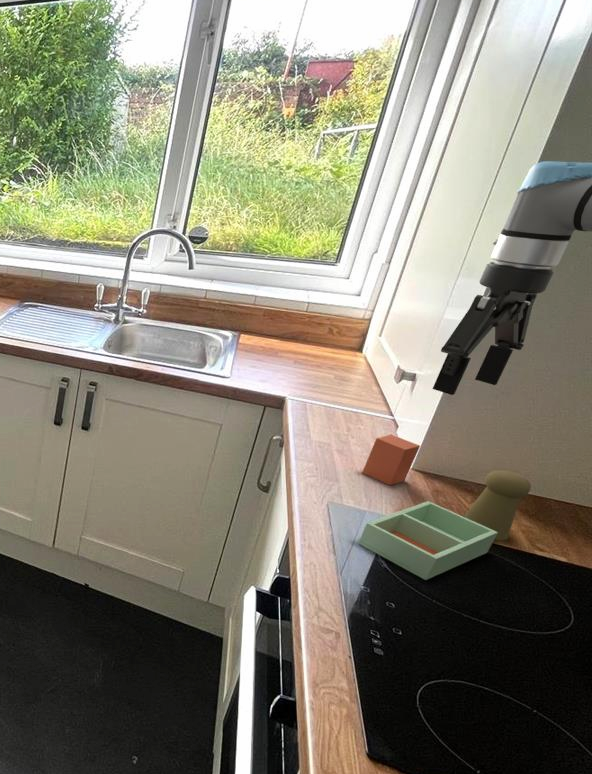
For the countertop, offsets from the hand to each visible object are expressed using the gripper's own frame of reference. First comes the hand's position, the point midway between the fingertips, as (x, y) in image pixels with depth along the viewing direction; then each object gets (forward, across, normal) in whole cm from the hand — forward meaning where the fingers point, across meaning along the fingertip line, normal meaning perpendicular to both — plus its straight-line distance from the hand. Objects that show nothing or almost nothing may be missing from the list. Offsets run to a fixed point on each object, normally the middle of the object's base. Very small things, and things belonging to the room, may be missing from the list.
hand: (464, 387), depth 101 cm
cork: (+23, -1, +10) cm, 25 cm away
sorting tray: (+23, +16, +9) cm, 30 cm away
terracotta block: (+23, -4, -7) cm, 24 cm away
